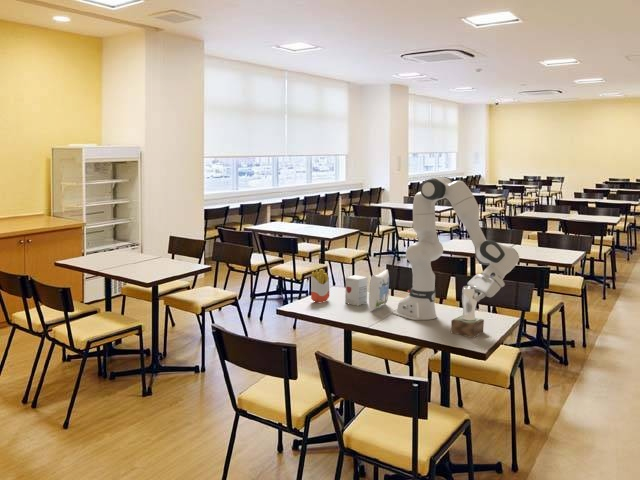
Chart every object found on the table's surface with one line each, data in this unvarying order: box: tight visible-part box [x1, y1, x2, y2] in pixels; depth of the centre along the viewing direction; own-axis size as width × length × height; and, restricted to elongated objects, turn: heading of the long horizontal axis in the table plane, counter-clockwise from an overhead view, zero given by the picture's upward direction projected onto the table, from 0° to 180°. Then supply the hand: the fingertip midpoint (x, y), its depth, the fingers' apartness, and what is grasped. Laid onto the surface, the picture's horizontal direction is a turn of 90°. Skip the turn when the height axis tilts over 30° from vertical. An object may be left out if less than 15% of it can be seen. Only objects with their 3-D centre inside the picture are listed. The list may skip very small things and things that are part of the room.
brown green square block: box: [450, 315, 485, 338], centre depth 268 cm, size 11×11×6 cm
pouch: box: [368, 268, 390, 312], centre depth 310 cm, size 8×19×20 cm, turn 146°
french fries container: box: [310, 268, 330, 303], centre depth 322 cm, size 5×11×18 cm, turn 139°
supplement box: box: [344, 274, 369, 306], centre depth 319 cm, size 9×9×15 cm
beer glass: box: [461, 285, 479, 321], centre depth 267 cm, size 7×7×15 cm
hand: (471, 297), depth 267 cm, fingers open, 8 cm apart
